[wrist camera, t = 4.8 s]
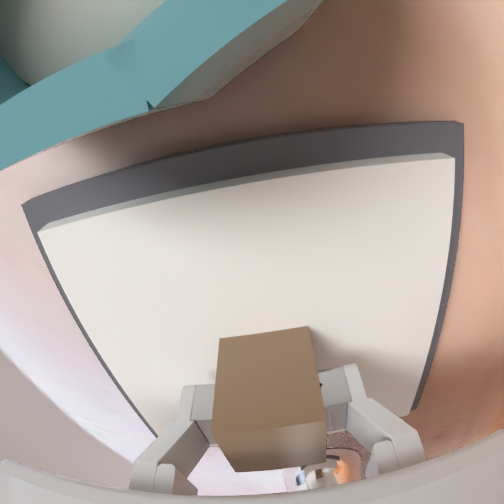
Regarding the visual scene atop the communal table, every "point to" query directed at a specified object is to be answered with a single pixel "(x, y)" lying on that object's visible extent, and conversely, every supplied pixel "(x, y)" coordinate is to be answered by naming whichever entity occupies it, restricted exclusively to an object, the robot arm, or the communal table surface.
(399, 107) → the communal table surface
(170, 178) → the mat
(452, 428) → the communal table surface
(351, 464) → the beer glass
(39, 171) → the communal table surface
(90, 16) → the bowl
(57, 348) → the communal table surface
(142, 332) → the lid
